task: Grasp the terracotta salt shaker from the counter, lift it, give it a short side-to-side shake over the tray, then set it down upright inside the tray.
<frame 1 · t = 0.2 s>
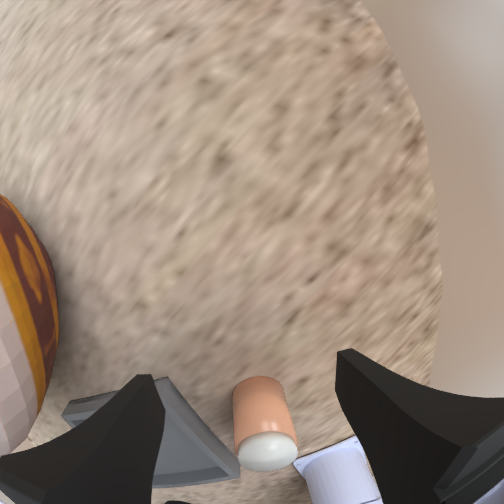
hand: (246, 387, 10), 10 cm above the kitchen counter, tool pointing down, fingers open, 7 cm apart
shaker: (258, 395, 21), on the kitchen counter
jug: (21, 262, 17), on the kitchen counter
tray: (153, 438, 22), on the kitchen counter
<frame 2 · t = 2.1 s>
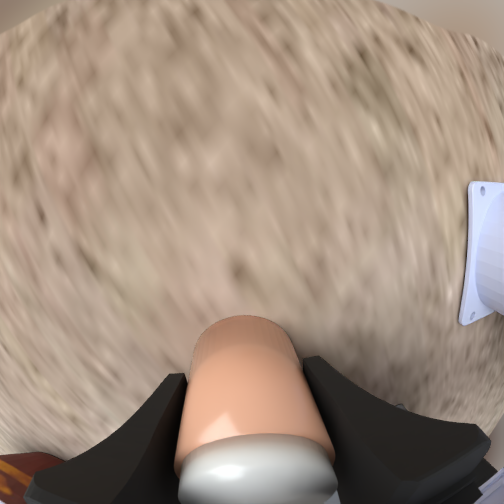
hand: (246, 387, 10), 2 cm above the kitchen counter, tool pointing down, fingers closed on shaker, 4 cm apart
shaker: (244, 359, 11), on the kitchen counter, touching gripper
jug: (63, 473, 14), on the kitchen counter
drinking cup: (449, 455, 17), on the kitchen counter
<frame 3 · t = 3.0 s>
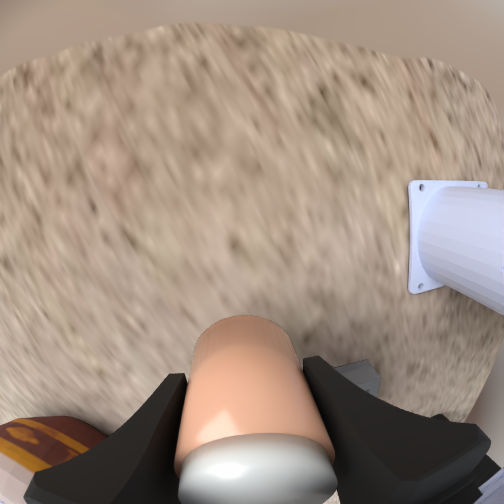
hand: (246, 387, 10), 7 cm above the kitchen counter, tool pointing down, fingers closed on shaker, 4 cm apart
shaker: (244, 359, 11), point 6 cm above the kitchen counter, touching gripper
jug: (79, 437, 19), on the kitchen counter
drinking cup: (427, 427, 23), on the kitchen counter
tray: (282, 432, 20), on the kitchen counter
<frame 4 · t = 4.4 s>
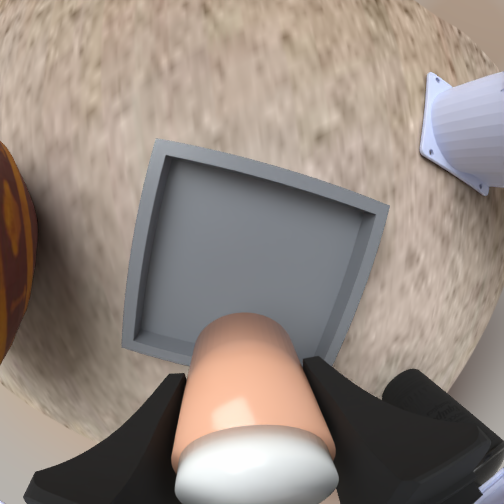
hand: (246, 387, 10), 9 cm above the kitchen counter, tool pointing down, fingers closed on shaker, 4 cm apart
shaker: (243, 357, 11), point 7 cm above the kitchen counter, touching gripper
jug: (4, 223, 16), on the kitchen counter
drinking cup: (401, 387, 22), on the kitchen counter
tray: (247, 270, 18), on the kitchen counter
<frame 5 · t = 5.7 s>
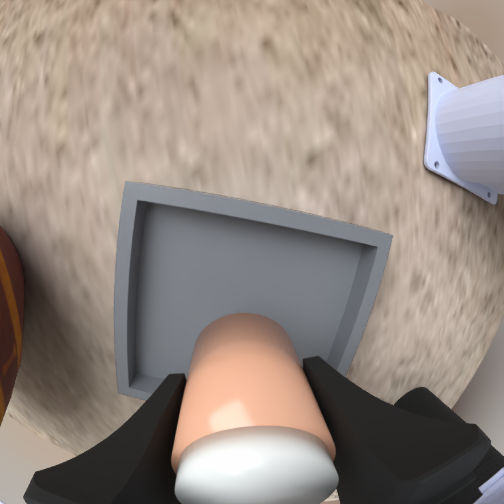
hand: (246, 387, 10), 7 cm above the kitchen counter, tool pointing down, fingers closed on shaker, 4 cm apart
shaker: (243, 358, 11), point 5 cm above the kitchen counter, touching gripper
drinking cup: (408, 404, 20), on the kitchen counter
tray: (240, 311, 16), on the kitchen counter
when the fingers open (4 cm above the kitchen counter, at t = 6.7 s): shaker drops 1 cm, resting on tray.
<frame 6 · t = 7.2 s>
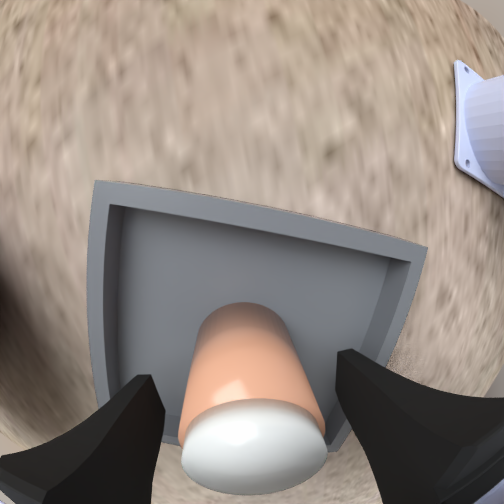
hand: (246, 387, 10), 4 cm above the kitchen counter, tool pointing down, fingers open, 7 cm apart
shaker: (243, 344, 13), point 1 cm above the kitchen counter, touching tray
tray: (242, 337, 13), on the kitchen counter
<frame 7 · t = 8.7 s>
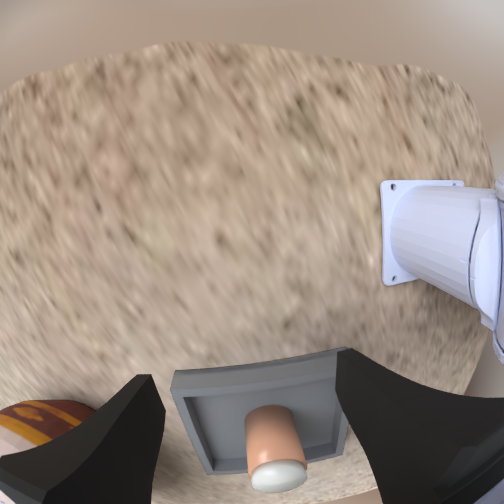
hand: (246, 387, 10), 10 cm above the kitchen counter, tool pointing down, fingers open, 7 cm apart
shaker: (268, 421, 21), point 1 cm above the kitchen counter, touching tray
jug: (80, 422, 21), on the kitchen counter
tray: (268, 415, 22), on the kitchen counter
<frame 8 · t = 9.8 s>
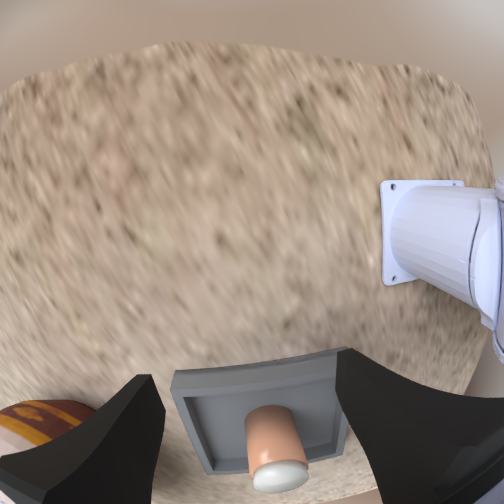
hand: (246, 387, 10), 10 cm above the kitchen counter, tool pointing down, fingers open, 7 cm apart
shaker: (268, 421, 21), point 1 cm above the kitchen counter, touching tray
jug: (80, 422, 21), on the kitchen counter
tray: (268, 415, 22), on the kitchen counter
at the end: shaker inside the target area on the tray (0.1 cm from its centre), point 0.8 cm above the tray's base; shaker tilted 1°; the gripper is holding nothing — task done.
